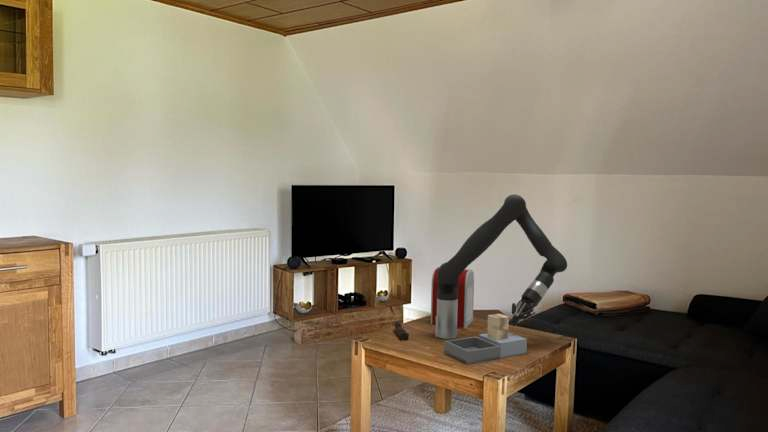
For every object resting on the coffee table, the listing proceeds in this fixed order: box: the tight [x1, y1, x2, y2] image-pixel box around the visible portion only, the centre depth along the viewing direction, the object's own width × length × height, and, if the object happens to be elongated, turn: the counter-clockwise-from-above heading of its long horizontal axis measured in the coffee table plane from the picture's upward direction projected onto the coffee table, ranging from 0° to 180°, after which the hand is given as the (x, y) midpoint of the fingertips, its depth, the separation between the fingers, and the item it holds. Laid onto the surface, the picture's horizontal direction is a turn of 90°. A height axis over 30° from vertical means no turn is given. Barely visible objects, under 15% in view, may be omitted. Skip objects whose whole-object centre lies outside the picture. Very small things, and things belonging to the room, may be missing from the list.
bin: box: [443, 335, 501, 365], centre depth 243 cm, size 16×16×5 cm
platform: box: [478, 331, 528, 359], centre depth 250 cm, size 14×14×6 cm
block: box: [486, 313, 510, 340], centre depth 248 cm, size 6×6×9 cm
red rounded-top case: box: [430, 266, 475, 329], centre depth 295 cm, size 16×18×27 cm
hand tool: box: [394, 321, 410, 341], centre depth 272 cm, size 19×4×5 cm, turn 8°
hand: (511, 324), depth 252 cm, fingers closed
